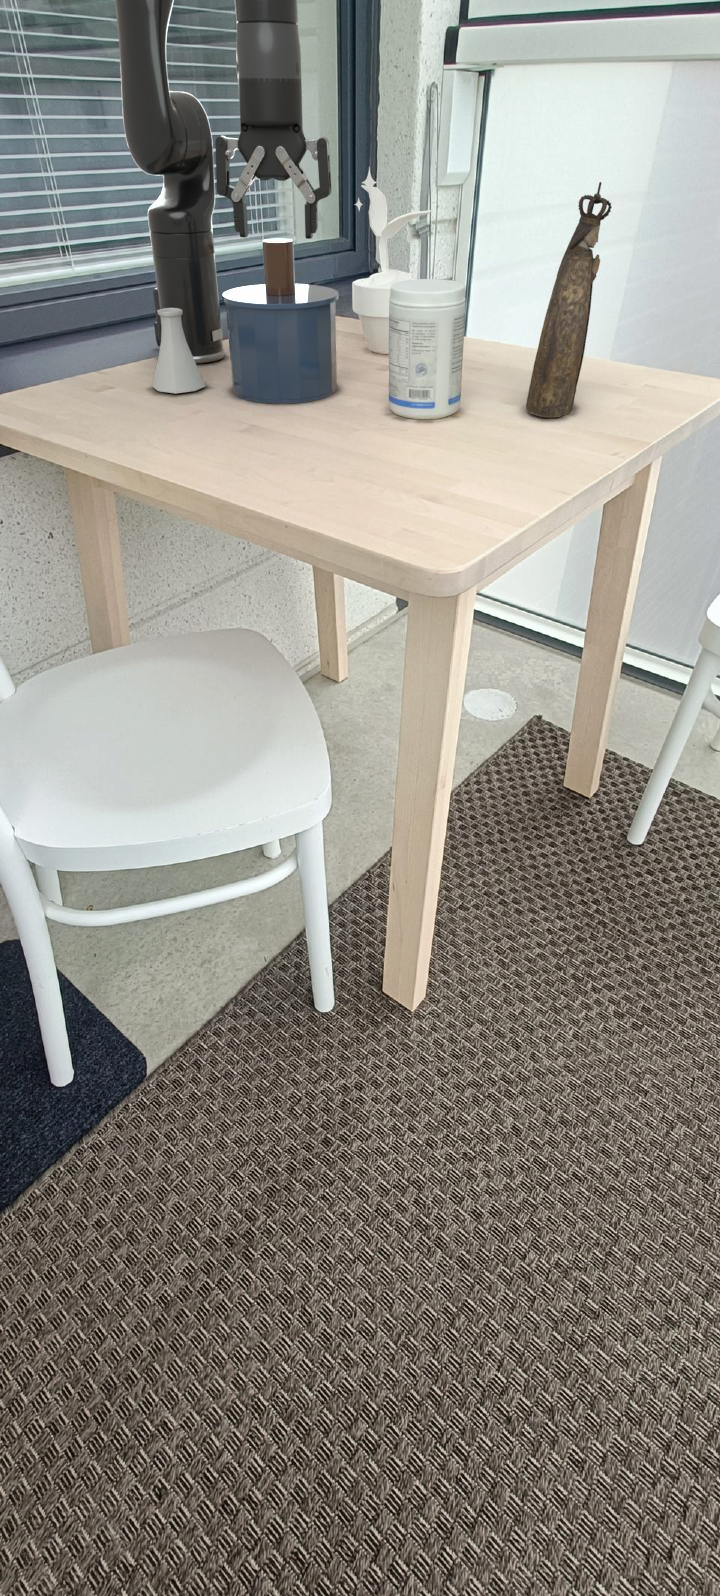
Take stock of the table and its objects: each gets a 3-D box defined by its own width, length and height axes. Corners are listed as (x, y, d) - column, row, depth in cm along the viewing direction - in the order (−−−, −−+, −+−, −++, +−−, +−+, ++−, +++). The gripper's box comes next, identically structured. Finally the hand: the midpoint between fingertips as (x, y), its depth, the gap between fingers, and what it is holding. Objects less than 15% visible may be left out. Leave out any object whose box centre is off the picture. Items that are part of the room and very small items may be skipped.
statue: (589, 417, 114) (626, 184, 98) (534, 421, 113) (562, 185, 97) (564, 400, 120) (595, 178, 105) (512, 402, 119) (535, 179, 104)
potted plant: (338, 352, 143) (335, 164, 127) (378, 339, 150) (379, 160, 135) (403, 362, 137) (408, 167, 122) (441, 349, 145) (450, 163, 129)
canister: (212, 393, 123) (202, 301, 116) (277, 372, 133) (272, 285, 125) (293, 409, 117) (289, 313, 110) (355, 386, 126) (355, 295, 119)
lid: (198, 306, 116) (192, 242, 112) (272, 289, 126) (269, 230, 122) (290, 319, 109) (287, 252, 105) (361, 300, 119) (361, 238, 115)
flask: (143, 388, 125) (132, 310, 119) (183, 379, 129) (174, 303, 123) (174, 398, 121) (164, 317, 115) (215, 388, 126) (207, 309, 119)
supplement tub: (433, 398, 121) (439, 276, 112) (474, 414, 115) (483, 286, 106) (373, 407, 117) (374, 282, 108) (412, 425, 111) (417, 294, 102)
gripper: (333, 76, 105) (334, 235, 116) (216, 75, 106) (228, 232, 116) (325, 75, 100) (327, 242, 110) (202, 74, 100) (216, 240, 111)
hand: (276, 237), depth 113 cm, fingers open, 8 cm apart
